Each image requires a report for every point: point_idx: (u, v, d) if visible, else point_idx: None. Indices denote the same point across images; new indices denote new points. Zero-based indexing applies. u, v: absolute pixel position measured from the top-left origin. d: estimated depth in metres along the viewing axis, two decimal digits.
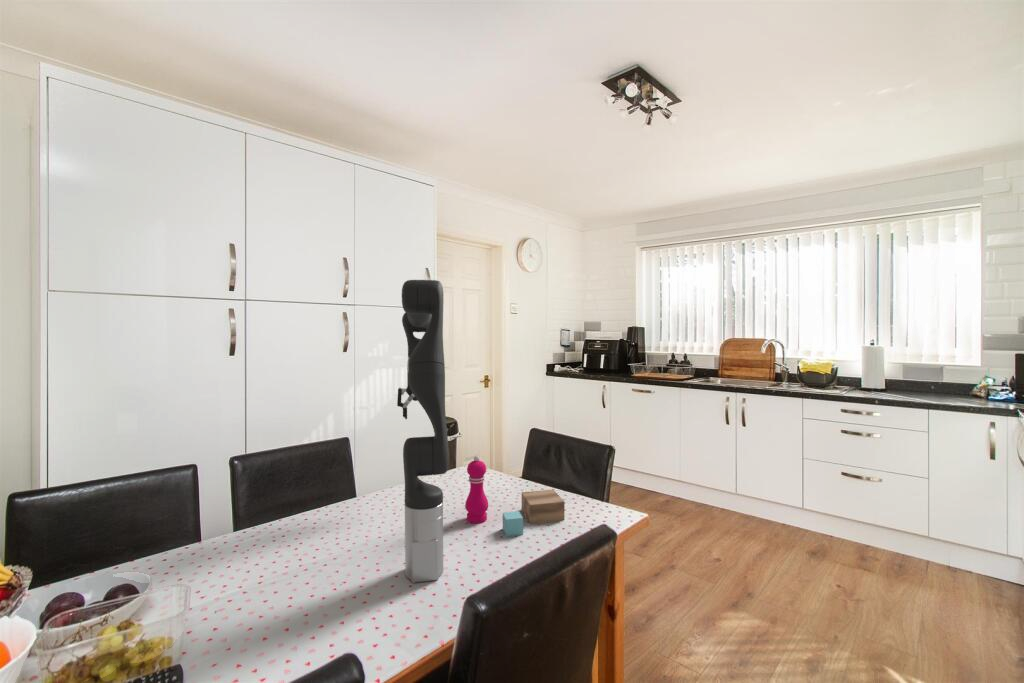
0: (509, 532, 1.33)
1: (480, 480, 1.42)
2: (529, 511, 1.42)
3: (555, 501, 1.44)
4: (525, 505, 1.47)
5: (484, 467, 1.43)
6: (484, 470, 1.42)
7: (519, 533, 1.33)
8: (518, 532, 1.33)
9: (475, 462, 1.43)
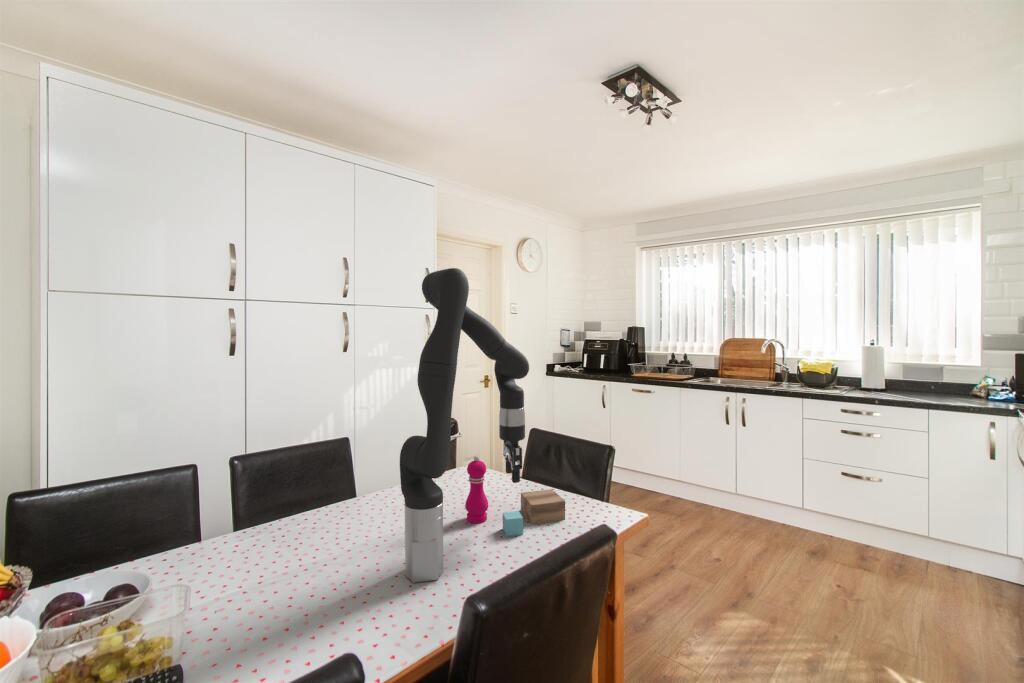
0: (509, 532, 1.33)
1: (480, 480, 1.42)
2: (530, 511, 1.42)
3: (556, 500, 1.44)
4: (525, 505, 1.47)
5: (484, 467, 1.43)
6: (484, 470, 1.42)
7: (519, 533, 1.33)
8: (518, 532, 1.33)
9: (475, 462, 1.43)
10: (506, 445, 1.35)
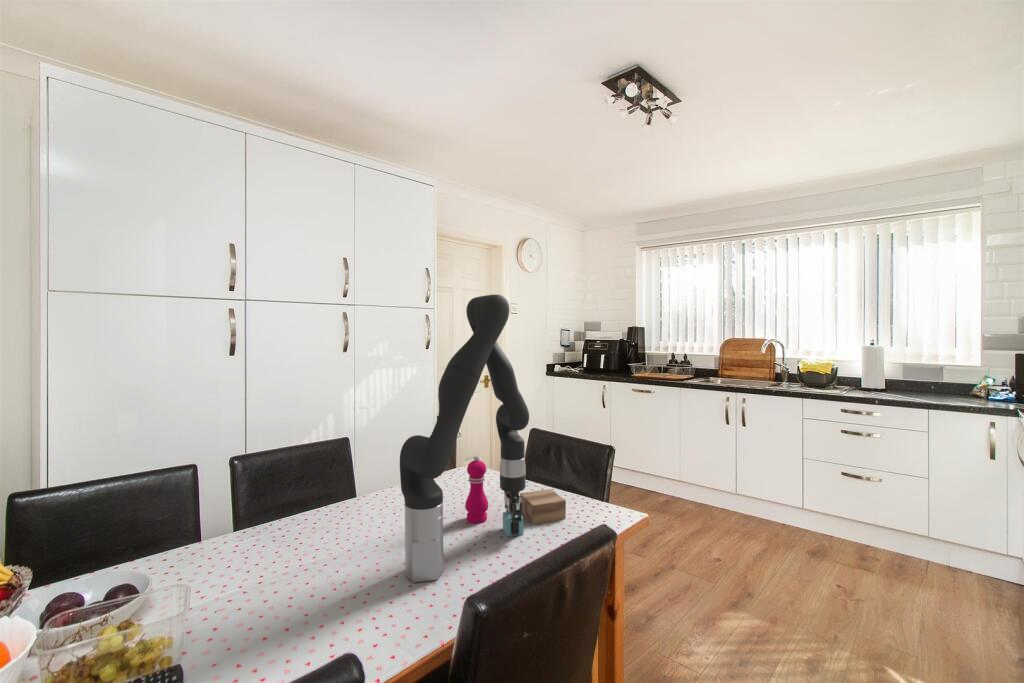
0: (509, 532, 1.33)
1: (480, 480, 1.42)
2: (531, 512, 1.42)
3: (557, 500, 1.45)
4: (526, 506, 1.46)
5: (484, 467, 1.43)
6: (484, 470, 1.42)
7: (519, 533, 1.33)
8: None
9: (475, 462, 1.43)
10: (506, 494, 1.36)
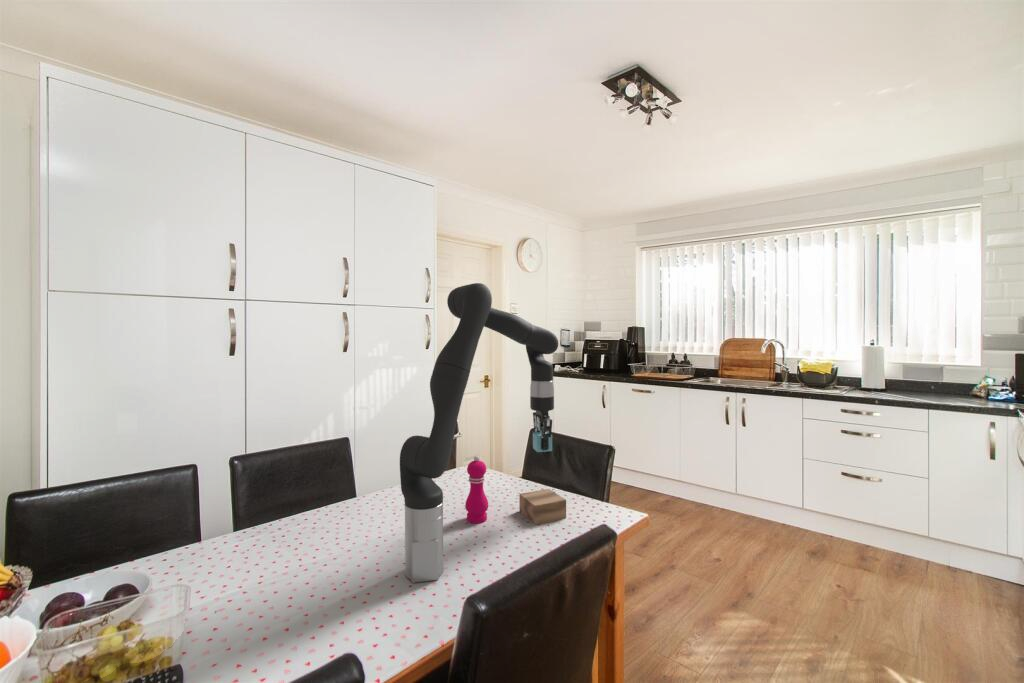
0: (539, 448, 1.44)
1: (480, 480, 1.42)
2: (533, 512, 1.41)
3: (557, 500, 1.45)
4: (526, 506, 1.46)
5: (484, 467, 1.43)
6: (484, 470, 1.42)
7: (549, 449, 1.45)
8: None
9: (475, 462, 1.43)
10: (536, 415, 1.47)
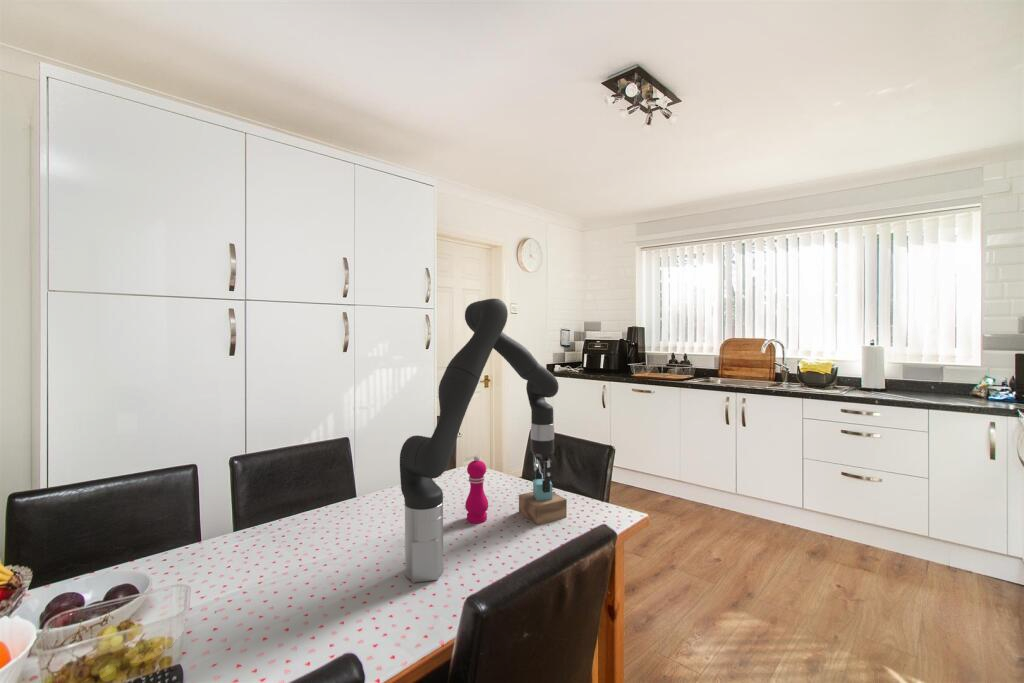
0: (539, 496, 1.45)
1: (480, 480, 1.42)
2: (535, 512, 1.41)
3: (558, 499, 1.45)
4: (527, 507, 1.45)
5: (484, 467, 1.43)
6: (484, 470, 1.42)
7: (549, 497, 1.45)
8: (548, 496, 1.45)
9: (475, 462, 1.43)
10: (536, 457, 1.48)
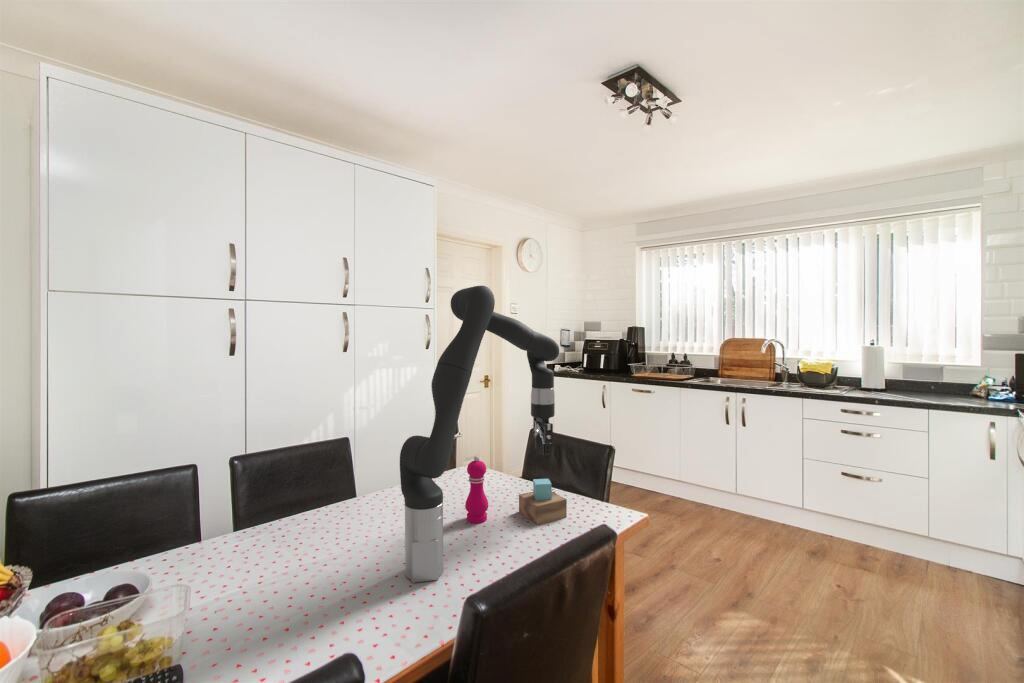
0: (538, 496, 1.45)
1: (480, 480, 1.42)
2: (535, 512, 1.41)
3: (558, 499, 1.45)
4: (527, 507, 1.45)
5: (484, 467, 1.43)
6: (484, 470, 1.42)
7: (548, 498, 1.45)
8: (547, 497, 1.45)
9: (475, 462, 1.43)
10: (537, 422, 1.47)
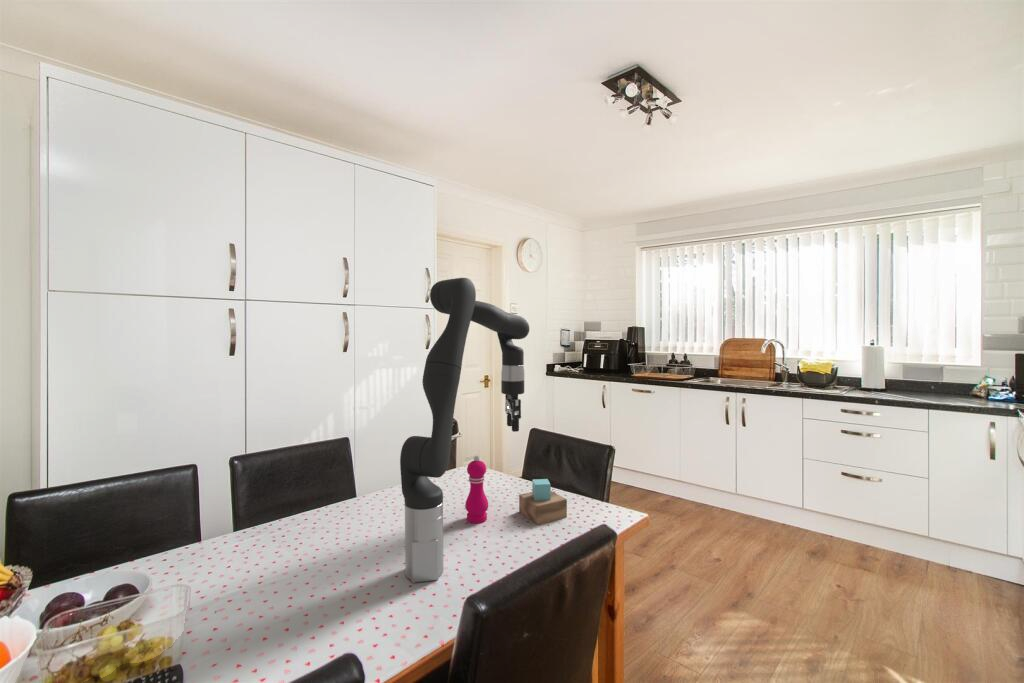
0: (537, 496, 1.45)
1: (480, 480, 1.42)
2: (535, 512, 1.41)
3: (558, 499, 1.45)
4: (527, 507, 1.45)
5: (484, 467, 1.43)
6: (484, 470, 1.42)
7: (547, 498, 1.45)
8: (546, 497, 1.45)
9: (475, 462, 1.43)
10: (507, 399, 1.51)
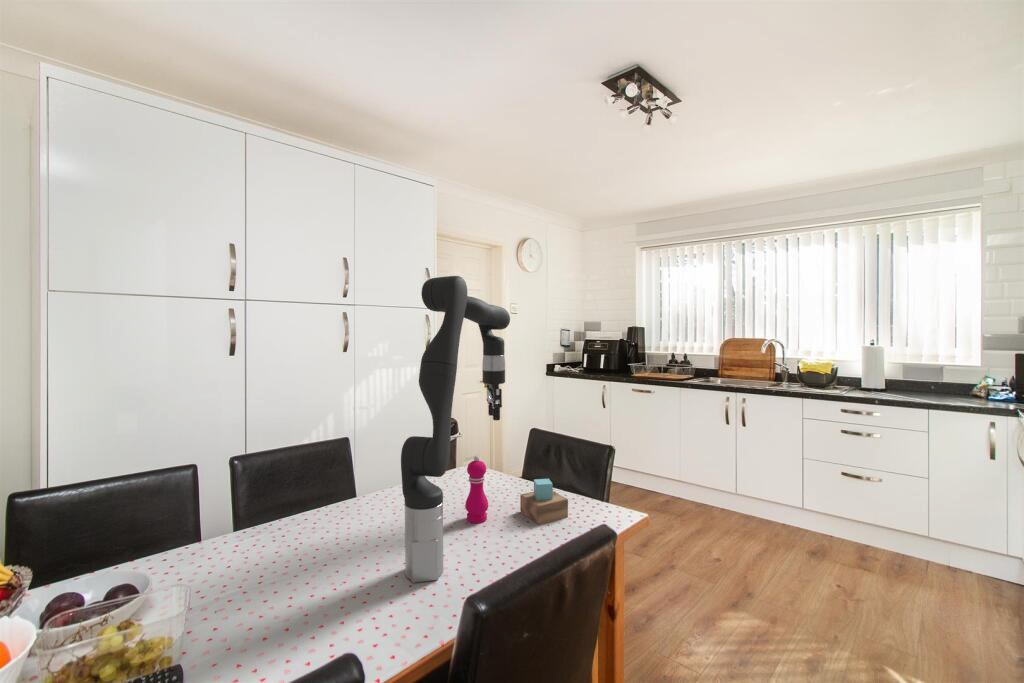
0: (539, 496, 1.45)
1: (480, 480, 1.42)
2: (536, 512, 1.41)
3: (559, 499, 1.46)
4: (528, 507, 1.46)
5: (484, 467, 1.43)
6: (484, 470, 1.42)
7: (549, 498, 1.45)
8: (548, 497, 1.45)
9: (475, 462, 1.43)
10: (488, 389, 1.53)
